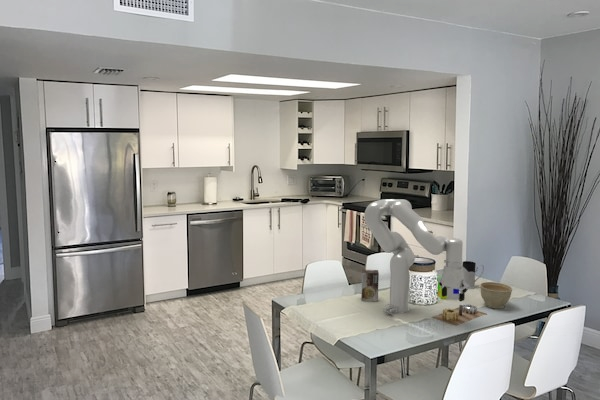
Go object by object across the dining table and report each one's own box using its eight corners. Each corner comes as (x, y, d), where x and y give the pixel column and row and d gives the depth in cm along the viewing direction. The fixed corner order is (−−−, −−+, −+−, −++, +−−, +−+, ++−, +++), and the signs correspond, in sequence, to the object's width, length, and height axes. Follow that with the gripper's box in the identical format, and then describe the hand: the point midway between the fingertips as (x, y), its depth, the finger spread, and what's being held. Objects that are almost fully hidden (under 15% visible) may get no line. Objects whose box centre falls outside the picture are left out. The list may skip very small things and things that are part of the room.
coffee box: (377, 297, 284) (378, 269, 282) (378, 301, 278) (379, 273, 276) (361, 297, 285) (362, 269, 283) (361, 300, 279) (362, 272, 276)
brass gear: (452, 322, 245) (452, 314, 244) (439, 318, 250) (439, 310, 250) (460, 319, 249) (461, 311, 249) (448, 315, 255) (448, 307, 254)
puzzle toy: (458, 299, 284) (459, 282, 283) (440, 299, 284) (441, 281, 283) (453, 293, 294) (454, 277, 293) (436, 293, 294) (437, 276, 293)
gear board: (455, 328, 241) (456, 315, 240) (431, 320, 252) (431, 307, 251) (486, 316, 258) (487, 304, 257) (462, 308, 269) (462, 296, 268)
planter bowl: (482, 310, 268) (483, 290, 266) (476, 300, 284) (477, 281, 282) (514, 312, 266) (515, 292, 264) (506, 301, 281) (507, 282, 280)
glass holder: (457, 284, 311) (458, 261, 309) (478, 284, 314) (480, 260, 312) (464, 289, 303) (466, 264, 301) (486, 288, 305) (487, 264, 303)
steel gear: (471, 314, 255) (472, 309, 255) (459, 310, 261) (459, 305, 261) (479, 311, 260) (480, 306, 260) (467, 307, 266) (467, 302, 265)
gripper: (434, 262, 250) (433, 295, 252) (465, 268, 237) (464, 304, 239) (443, 259, 255) (442, 292, 257) (474, 266, 242) (473, 301, 244)
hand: (452, 298), depth 248 cm, fingers open, 9 cm apart
